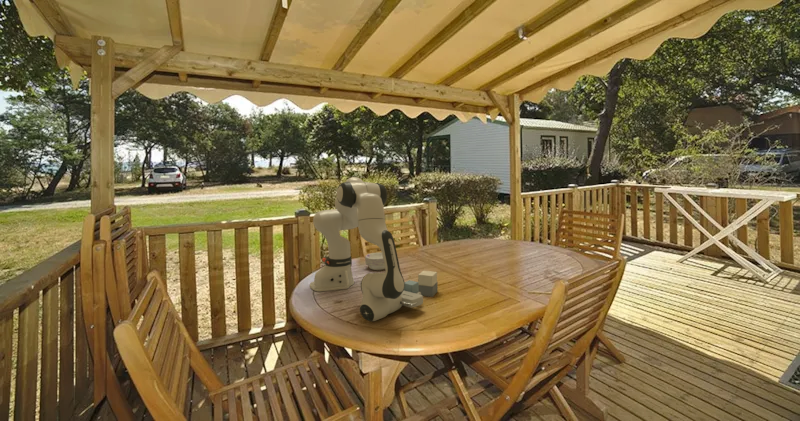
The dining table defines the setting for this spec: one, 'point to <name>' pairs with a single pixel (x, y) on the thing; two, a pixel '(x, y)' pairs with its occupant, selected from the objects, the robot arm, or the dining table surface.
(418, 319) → the dining table surface
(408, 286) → the blue pillar
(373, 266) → the paper bowls
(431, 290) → the tower base
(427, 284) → the tower top
